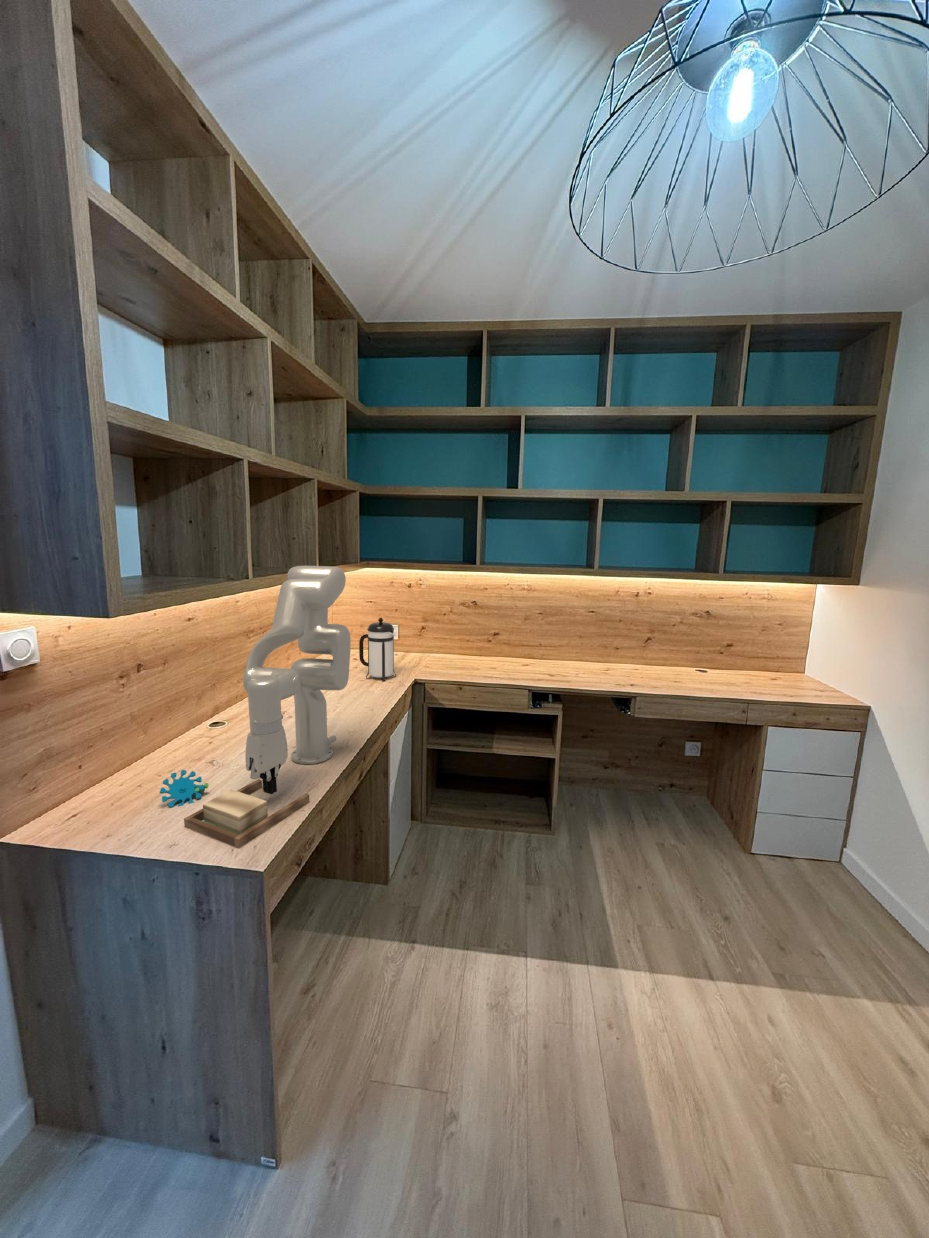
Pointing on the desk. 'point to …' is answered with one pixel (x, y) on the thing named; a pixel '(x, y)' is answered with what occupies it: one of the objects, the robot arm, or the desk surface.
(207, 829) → the bay
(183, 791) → the blue spiky virus toy
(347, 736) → the desk surface
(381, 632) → the coffee press
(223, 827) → the cream hardcover book
